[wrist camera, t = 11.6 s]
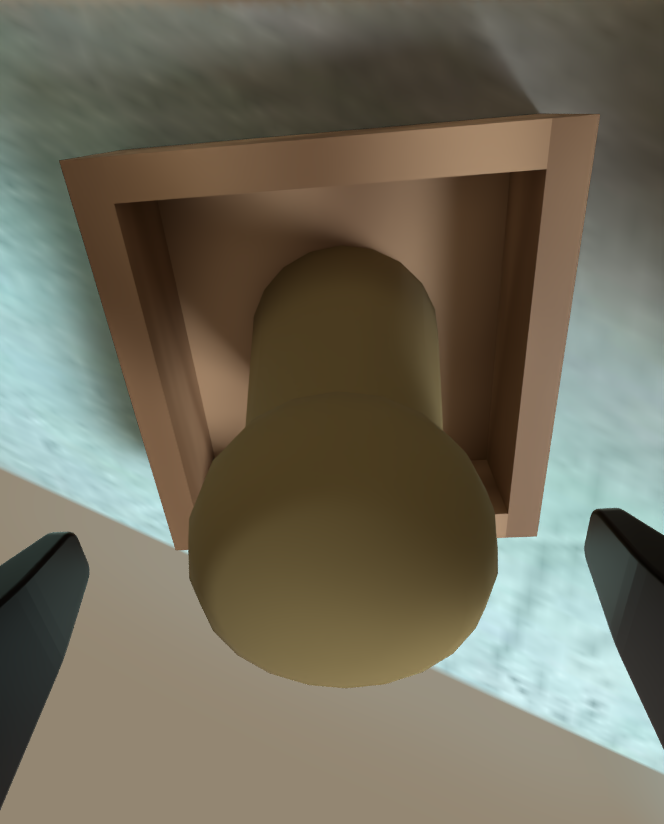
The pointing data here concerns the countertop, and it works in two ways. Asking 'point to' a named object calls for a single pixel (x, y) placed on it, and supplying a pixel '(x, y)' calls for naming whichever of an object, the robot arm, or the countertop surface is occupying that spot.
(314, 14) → the countertop surface
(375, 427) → the cork
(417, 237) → the box
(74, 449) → the countertop surface
